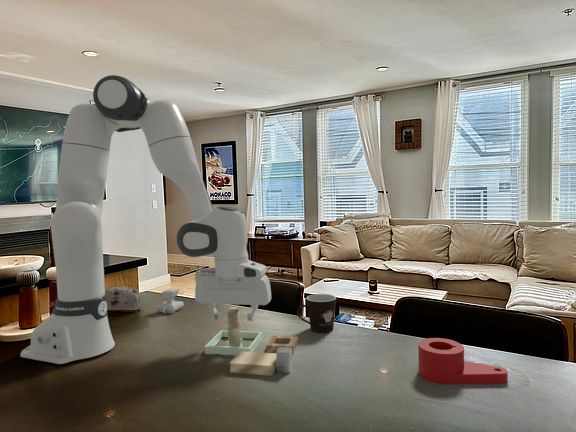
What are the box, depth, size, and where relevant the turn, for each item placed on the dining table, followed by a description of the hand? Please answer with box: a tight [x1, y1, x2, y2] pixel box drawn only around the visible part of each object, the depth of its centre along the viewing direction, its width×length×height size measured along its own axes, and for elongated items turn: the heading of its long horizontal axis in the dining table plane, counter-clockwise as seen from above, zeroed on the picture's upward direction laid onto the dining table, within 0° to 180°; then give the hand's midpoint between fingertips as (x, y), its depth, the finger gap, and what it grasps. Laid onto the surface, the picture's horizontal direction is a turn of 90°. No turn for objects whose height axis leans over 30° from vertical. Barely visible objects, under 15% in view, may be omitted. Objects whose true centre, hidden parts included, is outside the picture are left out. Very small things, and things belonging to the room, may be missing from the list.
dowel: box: [226, 306, 241, 347], centre depth 111 cm, size 3×3×10 cm
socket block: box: [265, 335, 299, 355], centre depth 109 cm, size 7×7×2 cm
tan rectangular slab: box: [229, 351, 277, 377], centre depth 98 cm, size 10×7×3 cm
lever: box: [417, 337, 509, 385], centre depth 91 cm, size 18×9×7 cm, turn 74°
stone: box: [105, 286, 141, 310], centre depth 145 cm, size 13×6×10 cm, turn 76°
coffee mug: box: [296, 293, 337, 334], centre depth 122 cm, size 12×9×10 cm
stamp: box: [156, 288, 185, 314], centre depth 144 cm, size 9×7×8 cm
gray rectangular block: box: [276, 347, 293, 374], centre depth 96 cm, size 3×3×5 cm
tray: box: [204, 329, 263, 357], centre depth 111 cm, size 12×12×2 cm
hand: (233, 320), depth 111 cm, fingers open, 8 cm apart
